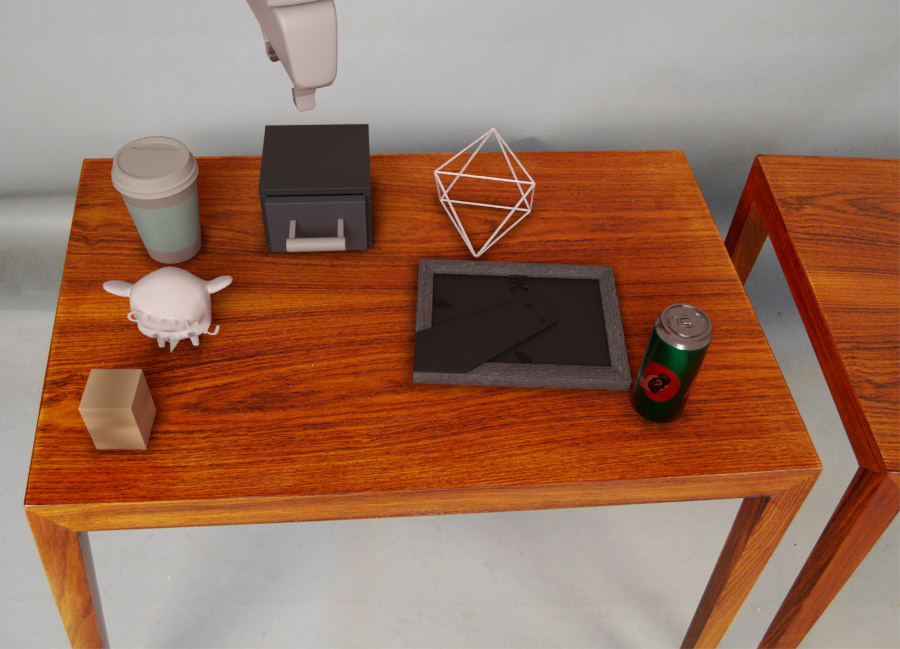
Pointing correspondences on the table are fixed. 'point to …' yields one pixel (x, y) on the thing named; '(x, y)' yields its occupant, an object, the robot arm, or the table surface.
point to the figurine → (170, 304)
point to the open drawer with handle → (316, 222)
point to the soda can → (671, 363)
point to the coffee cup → (161, 195)
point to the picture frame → (519, 326)
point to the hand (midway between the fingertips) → (290, 81)
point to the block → (118, 408)
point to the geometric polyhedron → (484, 204)
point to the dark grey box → (316, 164)
